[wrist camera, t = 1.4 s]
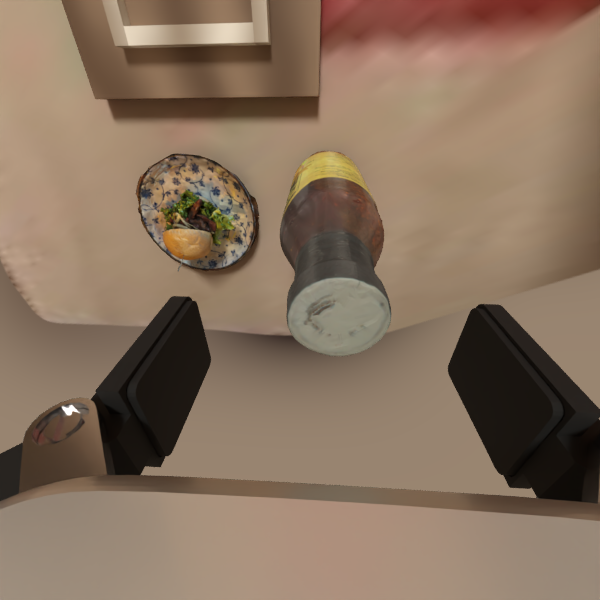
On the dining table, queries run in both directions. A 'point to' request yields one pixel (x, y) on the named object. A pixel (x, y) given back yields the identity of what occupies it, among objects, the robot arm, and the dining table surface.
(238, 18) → the walnut board
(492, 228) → the dining table surface
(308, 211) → the sauce bottle
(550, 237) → the dining table surface
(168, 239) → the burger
